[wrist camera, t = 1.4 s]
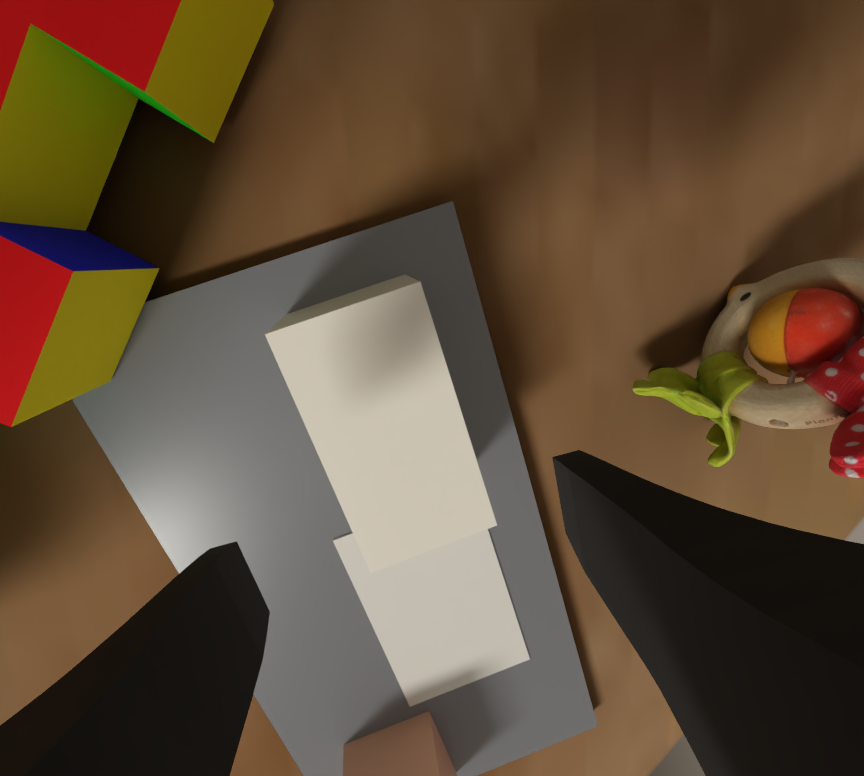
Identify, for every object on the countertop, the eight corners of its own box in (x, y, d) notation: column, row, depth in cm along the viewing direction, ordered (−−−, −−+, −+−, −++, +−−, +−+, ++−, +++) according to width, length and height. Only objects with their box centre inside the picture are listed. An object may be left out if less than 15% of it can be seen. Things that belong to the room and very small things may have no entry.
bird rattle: (655, 264, 22) (598, 433, 20) (993, 124, 12) (947, 440, 10) (739, 325, 24) (695, 486, 22) (1098, 248, 14) (1075, 538, 12)
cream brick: (367, 505, 20) (370, 573, 16) (286, 314, 18) (264, 334, 13) (468, 469, 21) (497, 525, 16) (405, 274, 18) (420, 281, 14)
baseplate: (339, 815, 27) (338, 834, 26) (48, 334, 17) (32, 339, 16) (591, 713, 28) (598, 727, 27) (448, 202, 18) (453, 200, 17)
